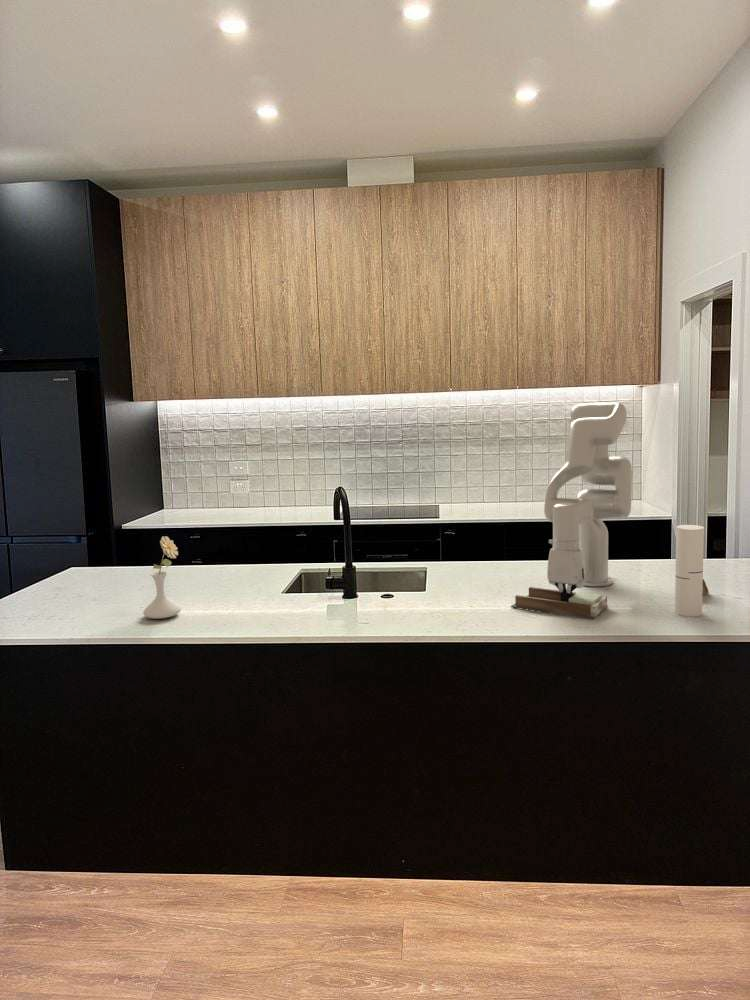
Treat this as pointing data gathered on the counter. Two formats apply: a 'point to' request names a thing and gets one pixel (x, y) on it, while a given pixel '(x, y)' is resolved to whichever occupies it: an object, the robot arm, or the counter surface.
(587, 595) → the sage block
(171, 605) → the flower in vase
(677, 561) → the cylindrical container
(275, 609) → the counter surface
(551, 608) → the brown wooden tray
